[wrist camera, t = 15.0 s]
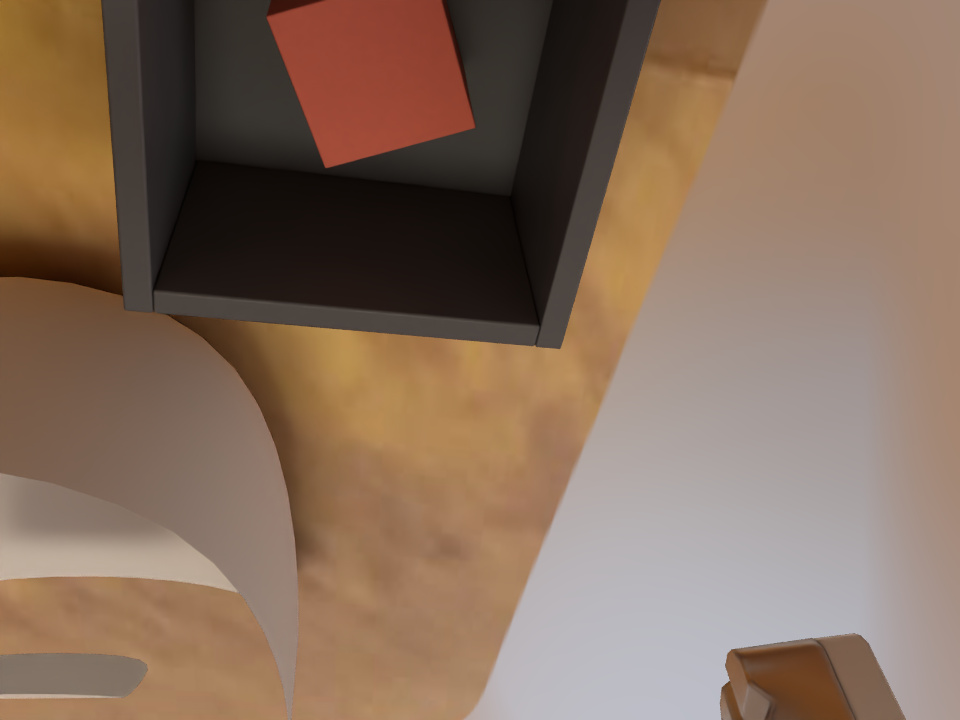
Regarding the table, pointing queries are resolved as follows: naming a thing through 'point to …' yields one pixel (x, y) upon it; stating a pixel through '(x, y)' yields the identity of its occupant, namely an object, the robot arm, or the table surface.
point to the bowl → (132, 473)
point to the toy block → (372, 73)
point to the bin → (366, 174)
